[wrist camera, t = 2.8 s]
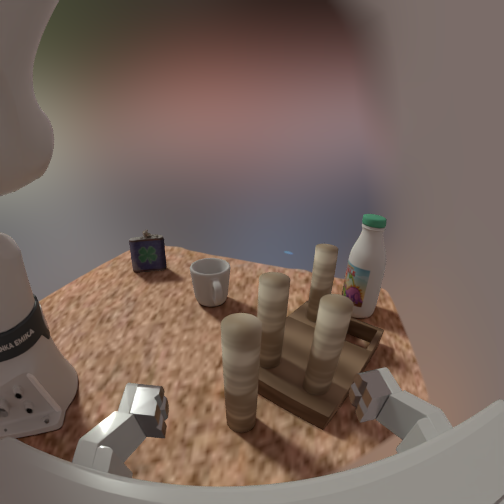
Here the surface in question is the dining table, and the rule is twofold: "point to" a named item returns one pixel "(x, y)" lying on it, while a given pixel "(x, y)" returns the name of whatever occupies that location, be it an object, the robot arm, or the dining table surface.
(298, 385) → the stool
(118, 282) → the dining table surface
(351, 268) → the milk bottle
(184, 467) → the dining table surface
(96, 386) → the dining table surface
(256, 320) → the loose leg
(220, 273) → the cup
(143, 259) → the flask
